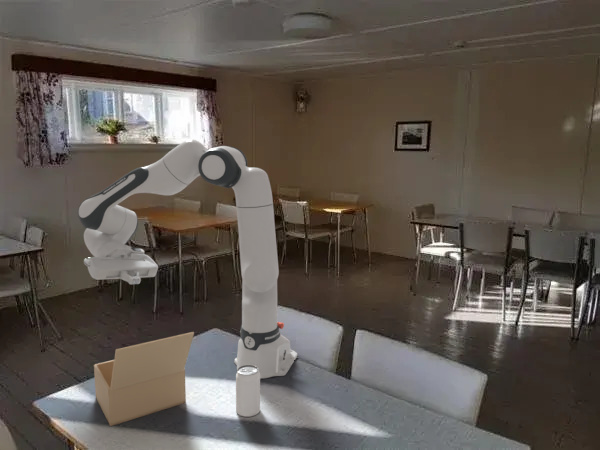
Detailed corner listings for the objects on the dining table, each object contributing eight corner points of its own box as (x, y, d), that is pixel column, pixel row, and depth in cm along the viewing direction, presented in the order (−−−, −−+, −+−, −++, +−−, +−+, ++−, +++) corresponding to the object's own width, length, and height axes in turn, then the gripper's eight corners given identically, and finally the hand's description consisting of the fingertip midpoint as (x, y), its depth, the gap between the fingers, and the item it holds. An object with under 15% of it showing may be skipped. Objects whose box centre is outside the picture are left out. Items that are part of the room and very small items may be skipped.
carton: (95, 397, 132) (93, 364, 131) (165, 378, 144) (164, 347, 142) (110, 426, 119) (108, 390, 118) (185, 402, 131) (184, 369, 129)
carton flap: (115, 349, 109) (116, 350, 109) (193, 331, 120) (194, 332, 120) (110, 389, 118) (110, 390, 118) (183, 369, 129) (183, 370, 128)
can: (256, 419, 124) (256, 377, 122) (232, 416, 125) (232, 374, 123) (262, 406, 130) (263, 365, 128) (240, 403, 131) (240, 362, 129)
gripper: (83, 248, 136) (104, 274, 128) (147, 249, 151) (169, 271, 143) (78, 267, 137) (98, 293, 129) (141, 266, 153) (162, 289, 145)
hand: (135, 282), depth 136 cm, fingers closed
